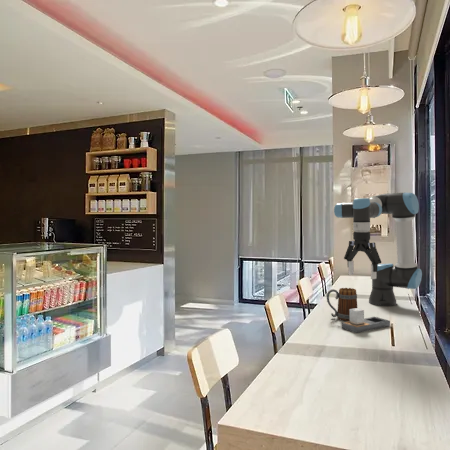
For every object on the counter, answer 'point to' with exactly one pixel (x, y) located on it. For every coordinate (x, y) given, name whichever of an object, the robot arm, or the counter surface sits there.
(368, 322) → the rail plate
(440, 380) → the counter surface
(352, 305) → the mug
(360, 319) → the steel peg
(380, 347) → the counter surface
